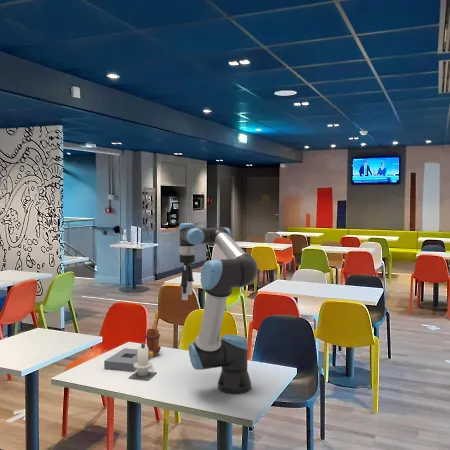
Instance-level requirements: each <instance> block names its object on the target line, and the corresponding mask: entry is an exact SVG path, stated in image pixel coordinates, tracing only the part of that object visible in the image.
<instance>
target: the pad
mask: <svg viewBox="0 0 450 450" xmlns="http://www.w3.org/2000/svg"><path fill="white" fill-rule="evenodd" d="M156 374H157V371H149V370H148V375H147V376H138V370H135V371H134V373H132V374H131V375H129V377H128V379H130V380H139V381H150V380H151V379H152V378H153V377H154V376H155V375H156Z"/></svg>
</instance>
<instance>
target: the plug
mask: <svg viewBox="0 0 450 450" xmlns="http://www.w3.org/2000/svg"><path fill="white" fill-rule="evenodd" d="M137 349H138V362H136V363H134V364H133V367H134V368H137V369H136V370H137V371H138V376H147V375H148V371H149V369H150V368H152V367H153V362H151V361H149V360H148V347H147V346H146V343H143V342H142V343H141V344H140V346H139V347H137Z"/></svg>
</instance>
